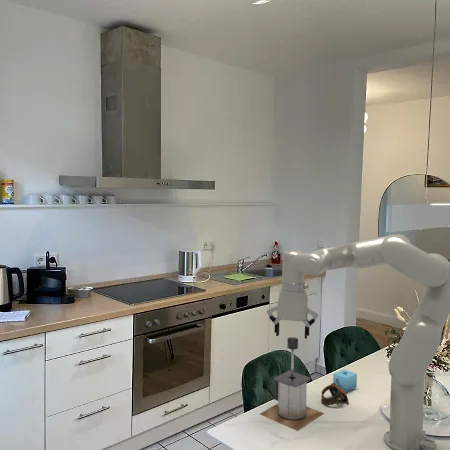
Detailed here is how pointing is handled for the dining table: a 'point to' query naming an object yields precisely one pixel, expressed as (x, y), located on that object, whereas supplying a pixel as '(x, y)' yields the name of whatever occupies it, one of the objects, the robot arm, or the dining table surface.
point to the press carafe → (291, 395)
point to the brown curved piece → (334, 395)
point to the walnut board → (296, 425)
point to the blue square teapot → (345, 380)
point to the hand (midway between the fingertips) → (291, 336)
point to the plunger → (292, 351)
